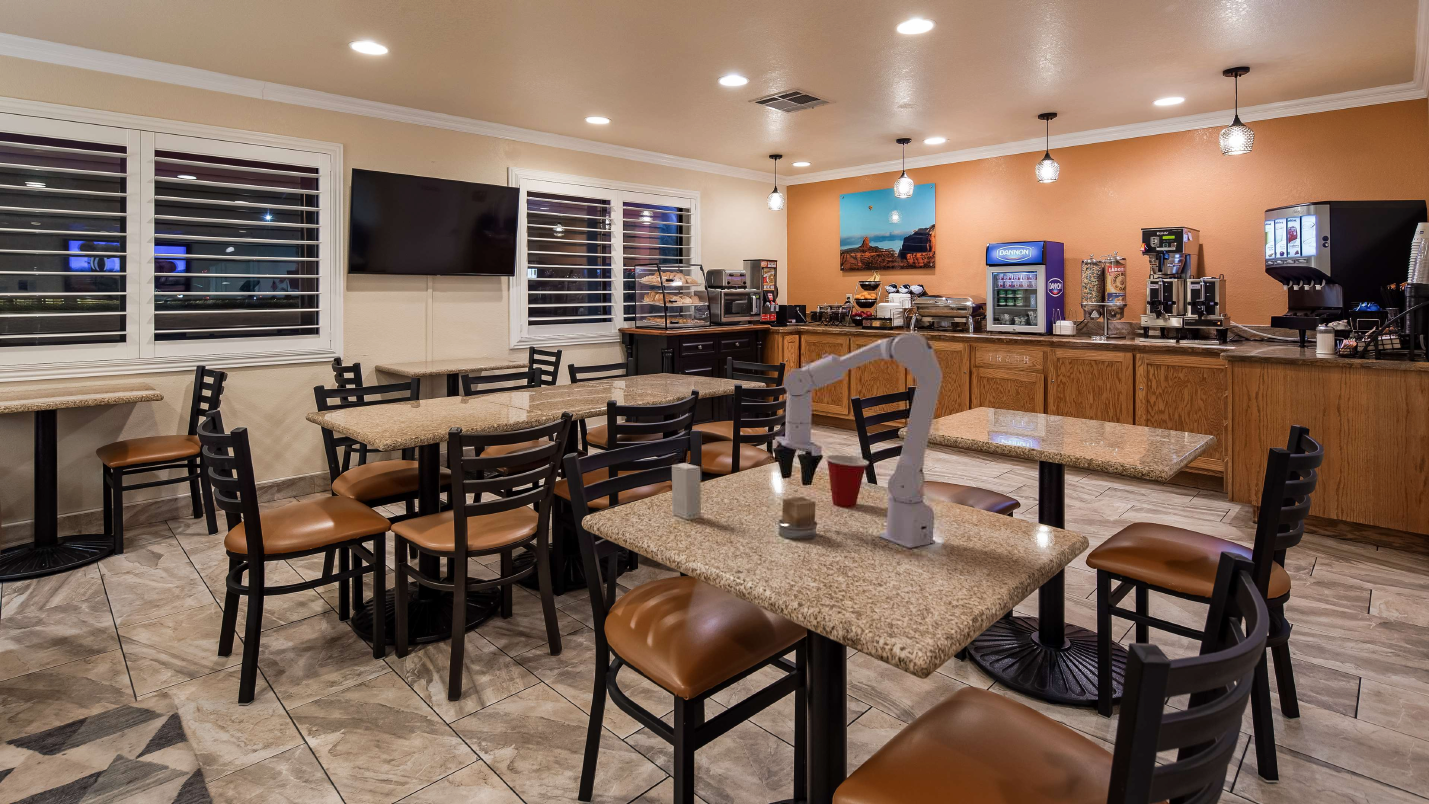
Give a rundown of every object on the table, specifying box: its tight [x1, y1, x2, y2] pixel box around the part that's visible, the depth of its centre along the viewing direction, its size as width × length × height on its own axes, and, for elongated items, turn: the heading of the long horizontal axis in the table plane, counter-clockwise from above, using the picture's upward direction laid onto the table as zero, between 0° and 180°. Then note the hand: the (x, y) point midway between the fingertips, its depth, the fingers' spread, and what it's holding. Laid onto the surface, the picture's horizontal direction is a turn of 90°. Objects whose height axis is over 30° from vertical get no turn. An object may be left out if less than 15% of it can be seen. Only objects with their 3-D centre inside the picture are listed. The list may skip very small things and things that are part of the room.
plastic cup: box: [825, 454, 870, 508], centre depth 187 cm, size 11×11×12 cm
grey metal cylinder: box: [777, 518, 818, 542], centre depth 162 cm, size 8×8×3 cm
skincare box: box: [671, 462, 702, 521], centre depth 174 cm, size 6×4×12 cm
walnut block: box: [781, 496, 816, 527], centre depth 161 cm, size 5×5×5 cm
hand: (796, 481), depth 169 cm, fingers open, 7 cm apart
